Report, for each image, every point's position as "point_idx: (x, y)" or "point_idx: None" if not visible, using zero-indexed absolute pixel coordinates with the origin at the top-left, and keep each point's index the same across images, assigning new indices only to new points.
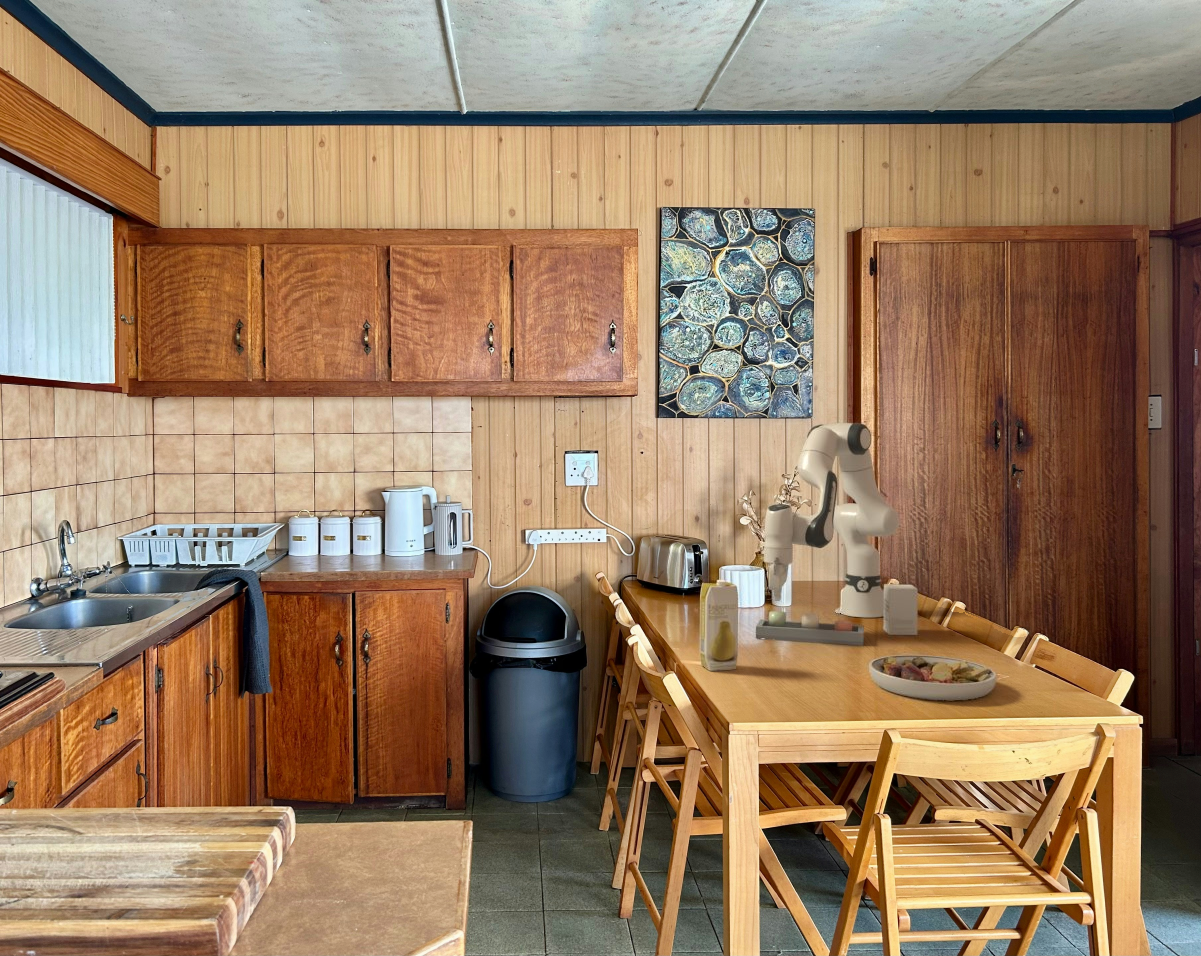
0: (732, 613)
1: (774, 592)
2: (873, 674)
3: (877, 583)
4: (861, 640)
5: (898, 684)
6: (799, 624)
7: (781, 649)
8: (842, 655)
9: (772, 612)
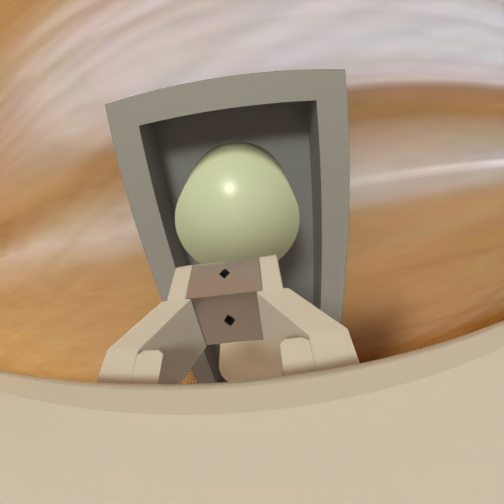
0: None
1: (132, 335)
2: None
3: None
4: None
5: None
6: (319, 274)
7: (34, 247)
8: (93, 372)
9: (227, 187)
